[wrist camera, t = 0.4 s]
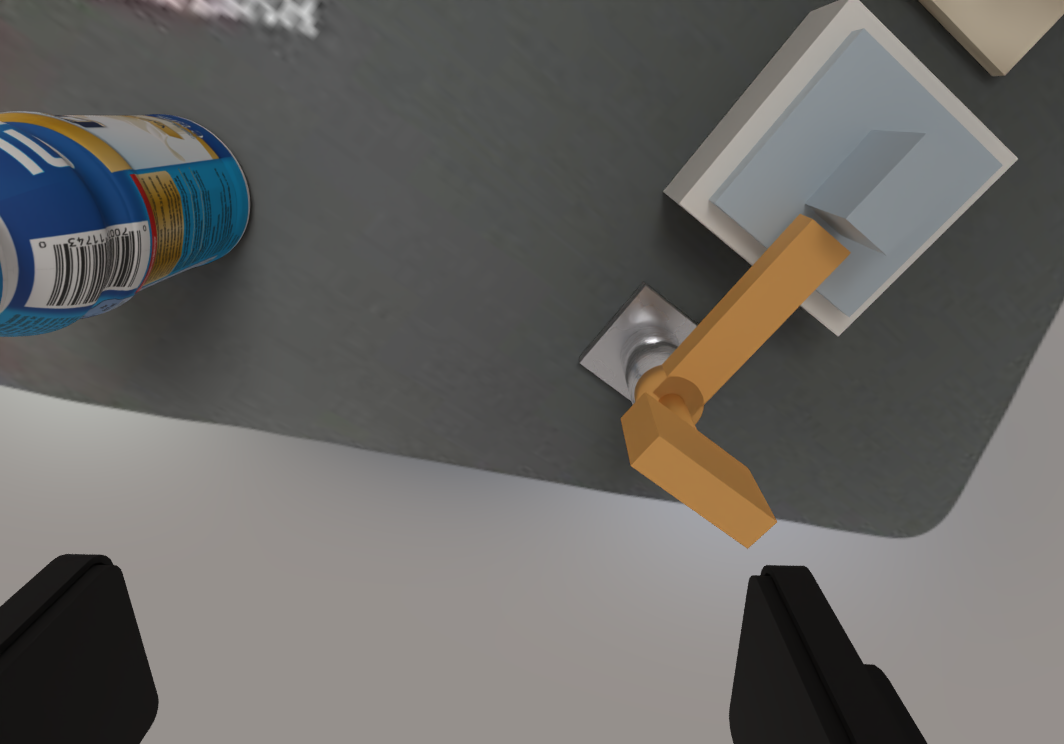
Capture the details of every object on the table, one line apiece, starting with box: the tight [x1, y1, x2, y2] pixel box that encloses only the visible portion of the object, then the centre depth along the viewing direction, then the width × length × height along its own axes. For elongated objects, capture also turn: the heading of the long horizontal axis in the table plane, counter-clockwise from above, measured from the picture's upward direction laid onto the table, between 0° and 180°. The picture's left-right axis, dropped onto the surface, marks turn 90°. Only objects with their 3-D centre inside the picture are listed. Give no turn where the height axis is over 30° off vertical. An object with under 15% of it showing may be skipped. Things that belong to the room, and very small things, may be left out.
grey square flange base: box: [579, 282, 698, 405], centre depth 36 cm, size 6×6×6 cm
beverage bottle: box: [0, 111, 250, 337], centre depth 27 cm, size 8×8×20 cm
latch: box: [621, 214, 851, 548], centre depth 27 cm, size 12×6×9 cm, turn 143°
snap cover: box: [709, 28, 1003, 317], centre depth 28 cm, size 9×9×6 cm
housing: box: [663, 0, 1018, 336], centre depth 33 cm, size 11×11×5 cm
